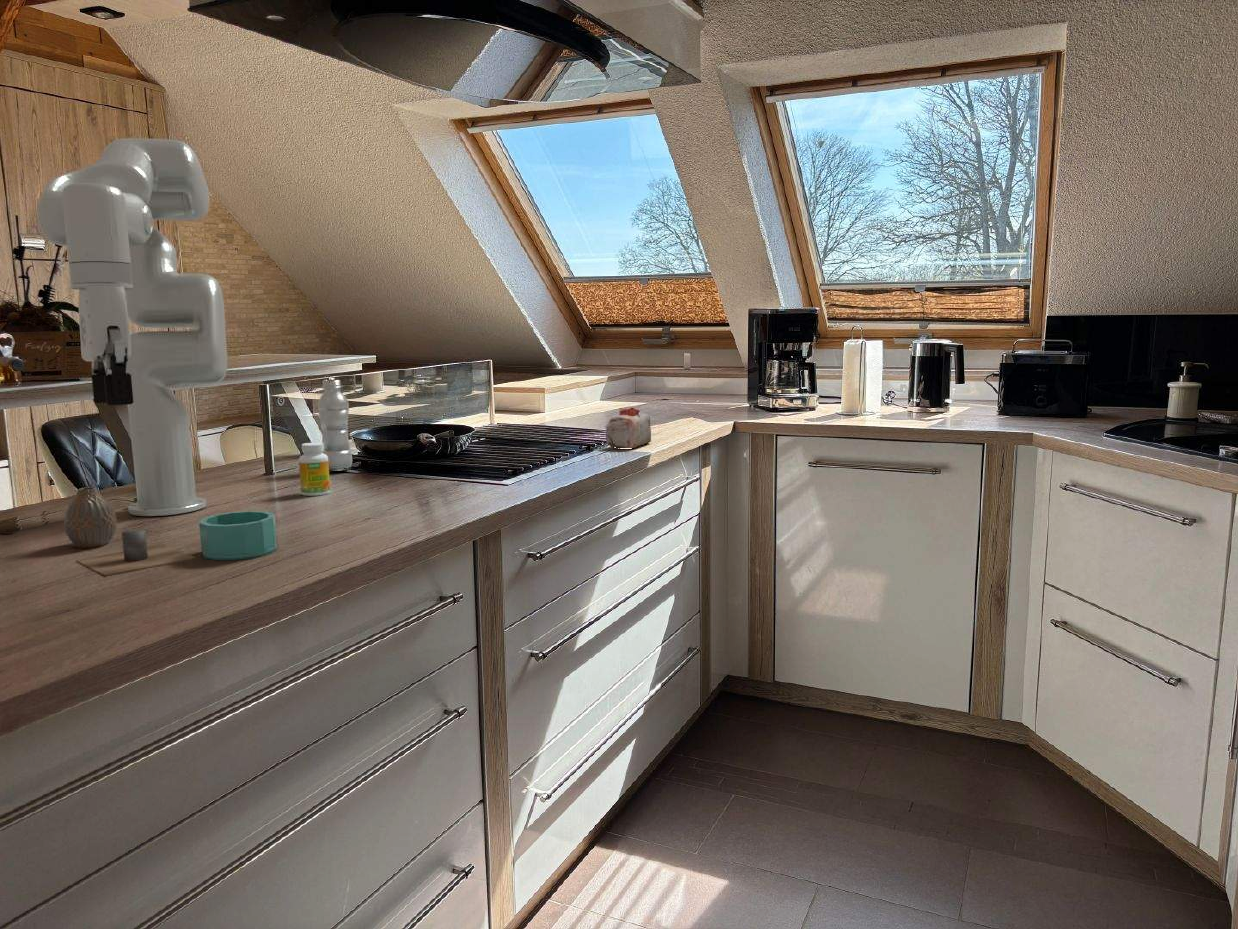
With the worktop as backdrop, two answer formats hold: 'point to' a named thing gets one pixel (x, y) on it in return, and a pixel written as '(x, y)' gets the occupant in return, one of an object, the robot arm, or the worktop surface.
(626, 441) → the food item
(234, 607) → the worktop surface
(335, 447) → the plastic bottle
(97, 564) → the lid
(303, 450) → the supplement bottle
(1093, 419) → the worktop surface
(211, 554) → the bowl
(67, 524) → the vase
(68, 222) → the robot arm
